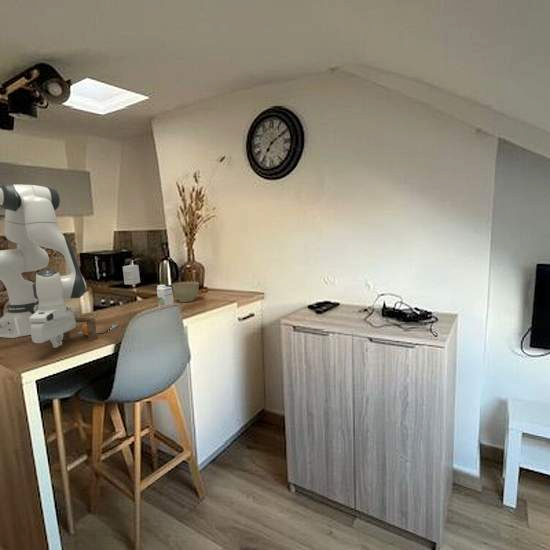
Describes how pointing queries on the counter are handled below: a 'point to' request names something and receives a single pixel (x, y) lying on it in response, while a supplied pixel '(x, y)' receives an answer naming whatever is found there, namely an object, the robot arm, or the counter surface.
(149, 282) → the counter surface
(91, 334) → the bridge
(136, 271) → the supplement box
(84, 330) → the ball
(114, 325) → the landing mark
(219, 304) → the counter surface
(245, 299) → the counter surface
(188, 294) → the planter bowl
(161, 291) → the syrup box
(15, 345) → the counter surface
